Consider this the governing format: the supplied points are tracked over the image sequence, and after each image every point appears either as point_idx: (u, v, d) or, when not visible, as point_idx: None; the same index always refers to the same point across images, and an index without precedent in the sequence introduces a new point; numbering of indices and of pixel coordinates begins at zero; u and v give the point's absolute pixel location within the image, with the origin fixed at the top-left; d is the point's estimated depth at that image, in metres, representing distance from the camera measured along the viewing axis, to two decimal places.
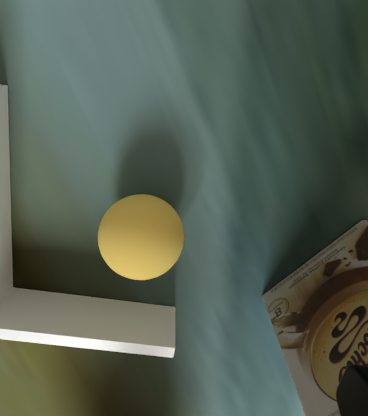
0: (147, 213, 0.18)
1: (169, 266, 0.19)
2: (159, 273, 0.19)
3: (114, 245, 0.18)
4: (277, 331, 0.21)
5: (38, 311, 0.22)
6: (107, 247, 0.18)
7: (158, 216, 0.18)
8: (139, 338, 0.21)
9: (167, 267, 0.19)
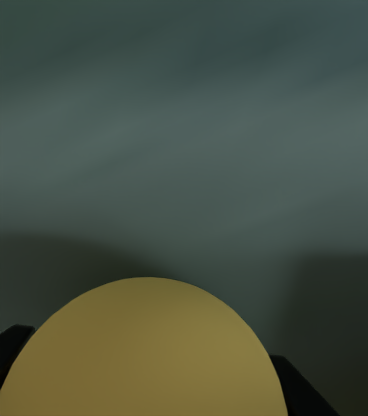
0: None
1: None
2: None
3: None
4: None
5: None
6: None
7: None
8: None
9: None
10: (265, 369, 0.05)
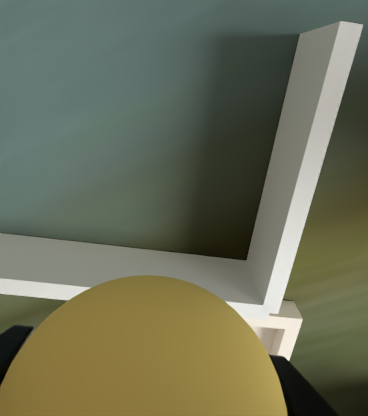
0: None
1: None
2: None
3: None
4: None
5: (265, 237, 0.16)
6: None
7: None
8: (316, 91, 0.13)
9: None
10: (264, 367, 0.05)
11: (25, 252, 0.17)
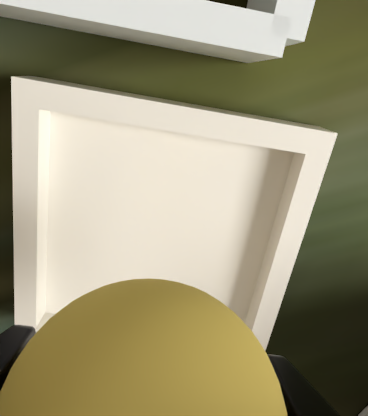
0: None
1: None
2: None
3: None
4: None
5: None
6: None
7: None
8: None
9: None
10: (265, 371, 0.05)
11: None
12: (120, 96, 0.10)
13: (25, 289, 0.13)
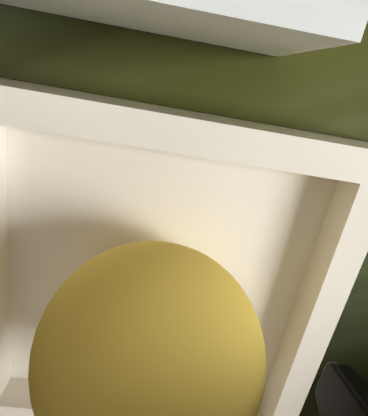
0: (32, 389, 0.06)
1: (210, 345, 0.06)
2: (229, 381, 0.06)
3: None
4: None
5: None
6: None
7: (40, 362, 0.06)
8: None
9: (210, 356, 0.06)
10: (246, 306, 0.07)
11: None
12: (99, 103, 0.07)
13: None
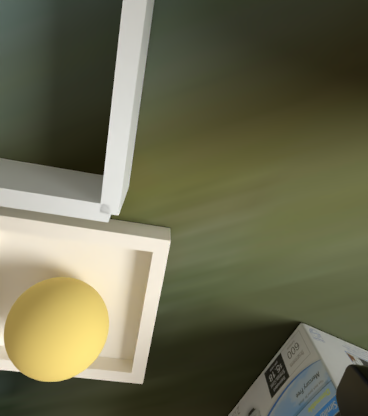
0: (5, 338, 0.16)
1: (71, 320, 0.15)
2: (78, 332, 0.15)
3: (37, 379, 0.16)
4: None
5: None
6: (46, 381, 0.16)
7: (8, 327, 0.16)
8: None
9: (70, 323, 0.15)
10: (94, 305, 0.17)
11: None
12: (34, 221, 0.17)
13: None
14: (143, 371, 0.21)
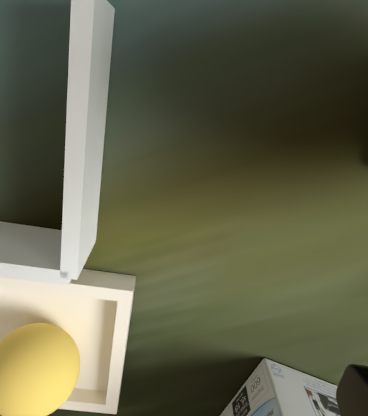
0: None
1: (41, 368, 0.17)
2: (48, 379, 0.17)
3: None
4: None
5: None
6: None
7: None
8: None
9: (40, 372, 0.17)
10: (64, 352, 0.18)
11: None
12: None
13: None
14: (116, 403, 0.22)
